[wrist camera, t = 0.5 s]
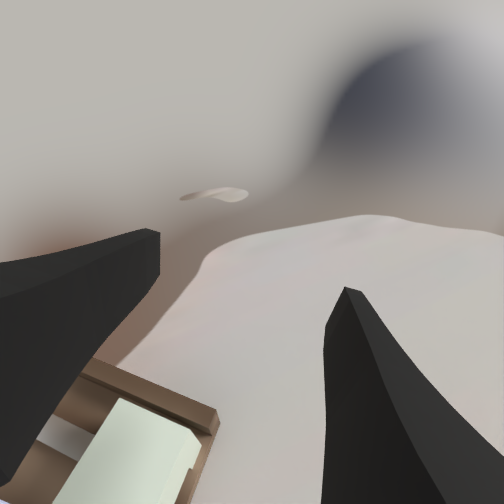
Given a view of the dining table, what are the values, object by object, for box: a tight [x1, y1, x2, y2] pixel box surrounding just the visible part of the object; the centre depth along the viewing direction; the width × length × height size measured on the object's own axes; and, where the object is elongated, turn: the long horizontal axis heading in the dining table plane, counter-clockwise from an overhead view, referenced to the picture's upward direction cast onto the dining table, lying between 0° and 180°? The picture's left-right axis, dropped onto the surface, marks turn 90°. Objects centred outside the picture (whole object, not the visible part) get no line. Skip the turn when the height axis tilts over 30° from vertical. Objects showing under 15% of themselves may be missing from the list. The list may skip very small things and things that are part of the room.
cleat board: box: [0, 357, 220, 504], centre depth 19 cm, size 10×14×4 cm
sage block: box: [52, 398, 202, 504], centre depth 17 cm, size 6×5×6 cm
